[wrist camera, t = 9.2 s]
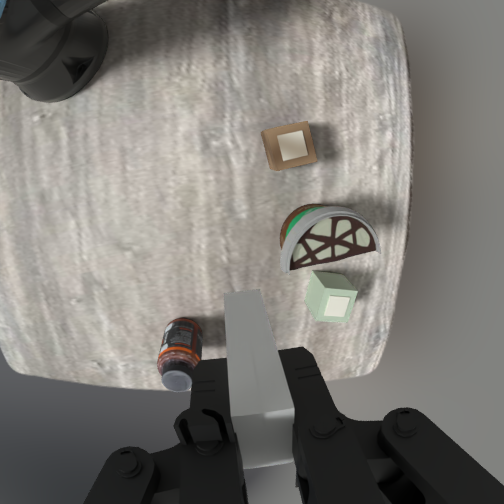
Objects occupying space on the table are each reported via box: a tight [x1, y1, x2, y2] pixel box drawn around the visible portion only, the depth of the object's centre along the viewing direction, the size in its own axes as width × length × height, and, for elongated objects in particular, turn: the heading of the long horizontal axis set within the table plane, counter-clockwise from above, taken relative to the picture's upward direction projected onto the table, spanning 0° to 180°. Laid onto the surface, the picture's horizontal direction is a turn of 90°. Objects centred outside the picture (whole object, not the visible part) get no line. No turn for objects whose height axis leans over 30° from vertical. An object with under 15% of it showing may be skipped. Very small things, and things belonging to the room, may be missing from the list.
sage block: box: [304, 271, 358, 323], centre depth 42 cm, size 5×5×6 cm
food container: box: [280, 204, 381, 275], centre depth 37 cm, size 12×6×10 cm, turn 101°
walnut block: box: [261, 121, 317, 171], centre depth 35 cm, size 5×5×5 cm
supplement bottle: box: [157, 318, 202, 392], centre depth 40 cm, size 6×6×11 cm
